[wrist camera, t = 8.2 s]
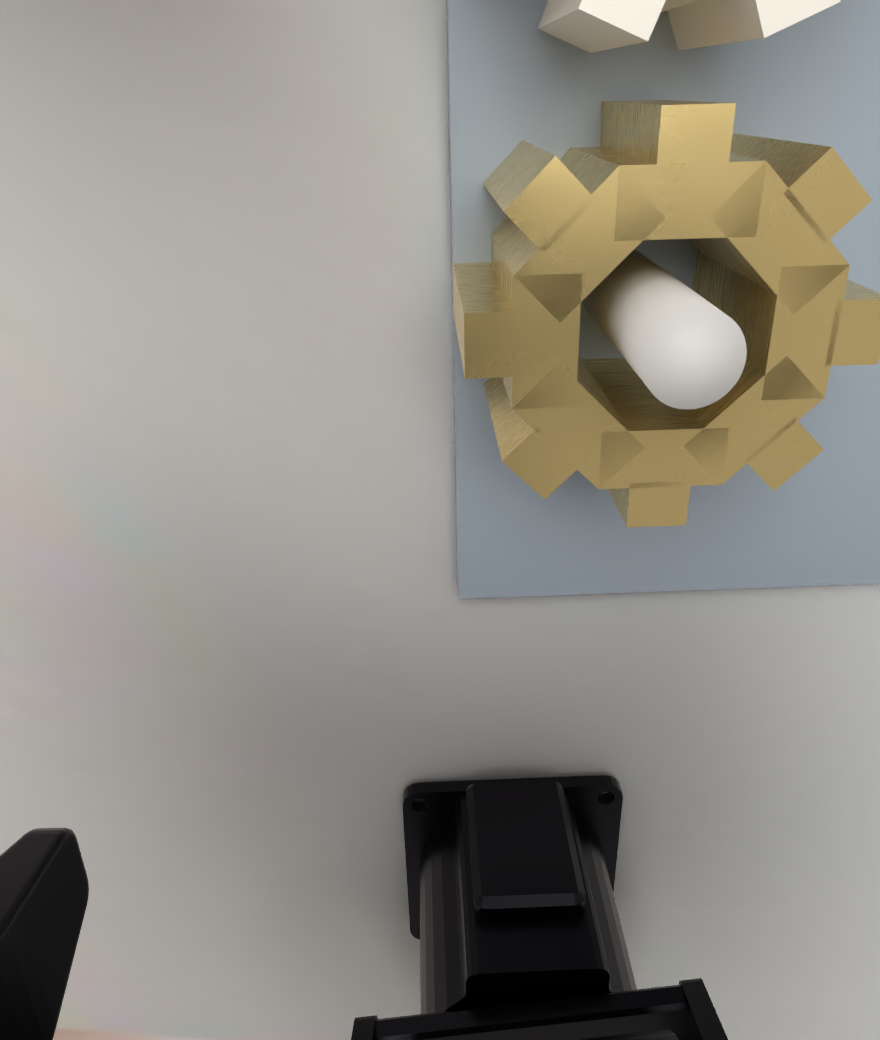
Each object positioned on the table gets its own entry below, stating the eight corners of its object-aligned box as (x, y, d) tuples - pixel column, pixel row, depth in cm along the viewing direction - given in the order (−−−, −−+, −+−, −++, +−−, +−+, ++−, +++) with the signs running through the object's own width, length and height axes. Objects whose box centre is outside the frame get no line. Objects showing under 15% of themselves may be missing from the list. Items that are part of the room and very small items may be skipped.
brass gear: (810, 95, 16) (935, 96, 12) (758, 433, 20) (844, 519, 16) (449, 106, 16) (461, 111, 12) (456, 443, 19) (467, 533, 16)
